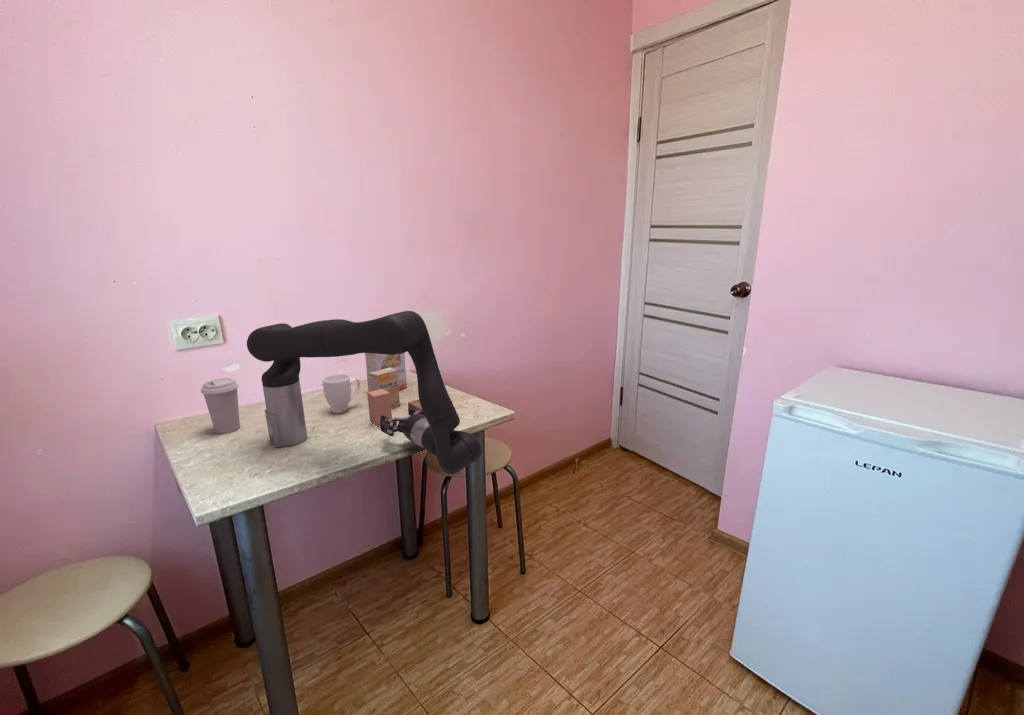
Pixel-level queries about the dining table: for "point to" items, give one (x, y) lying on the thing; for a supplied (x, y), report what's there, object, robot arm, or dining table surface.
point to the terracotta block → (379, 405)
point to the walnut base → (415, 405)
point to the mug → (339, 391)
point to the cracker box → (386, 366)
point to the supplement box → (386, 383)
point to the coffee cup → (222, 404)
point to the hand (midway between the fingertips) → (395, 414)
